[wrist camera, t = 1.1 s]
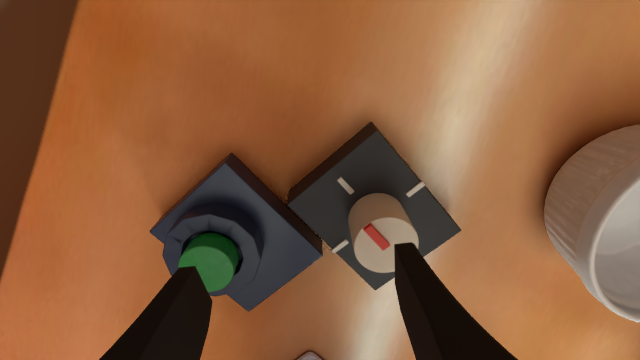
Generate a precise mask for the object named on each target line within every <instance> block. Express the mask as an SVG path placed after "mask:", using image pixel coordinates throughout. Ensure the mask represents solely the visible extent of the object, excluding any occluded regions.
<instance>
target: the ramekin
mask: <svg viewBox="0 0 640 360" xmlns="http://www.w3.org/2000/svg"><path fill="white" fill-rule="evenodd" d="M544 222H545V228H546V230H547V233H548V237H549V238H550V240H551V242H552V244H553V245H554V247H555V248H556V250H557V251H558V252H559V253H560V254H561V256H562V257H563V258H564V259H565V260H566V261H567V263H568V264H569V265H570V266H571V267H572V268H573V269H574V270H575V271H576V273H577V274H578V275H579V276H580V278H581V280H582V282H583V283H584V285H585V287H586V288H587V289H588V291H589V292H590V293H591V294H592V295H593V296H594V297H595V298H596V299H598V300H599V301H600V302H601V303H602V304H604V305H605V306H606V307H607V308H609V309H610V310H611V311H613V312H614V313H616V314H618V315H619V316H622V317H624V318H626V319H629V320H632V321H636V322H640V124H639V125H633V126H627V127H623V128H621V129H618V130H614V131H611V132H609V133H607V134H605V135H602V136H600V137H598V138H597V139H595V140H593V141H591V142H589V143H588V144H587V145H585V146H584V147H582V148H581V149H580V150H578V151H577V152H576V153H575V154H573V155H572V156H571V157H570V158H569V159H568V160H567V161H566V162H565V163H564V164H563V166H562V167H561V168H560V169H559V171H558V172H557V174H556V175H555V177H554V179H553V181H552V183H551V185H550V187H549V190H548V193H547V196H546V199H545V207H544Z"/></svg>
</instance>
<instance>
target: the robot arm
mask: <svg viewBox="0 0 640 360" xmlns="http://www.w3.org/2000/svg"><path fill="white" fill-rule="evenodd" d="M394 256H395V285H396V290H397V295H398V300H399V305H400V310H401V313H402V316H403V320H404V323H405V326H406V329H407V332H408V335H409V338H410V342H411V345H412V348H413V351H414V354H415V357H416V360H518V359H517V358H515V357H514V356H513V355H512V354H511V353H509V352H508V351H507V350H506V349H505V348H504V347H503V346H502V345H501V344H500V343H498V342H497V341H496V340H495V339H494V338H493V337H492V336H491V335H490V334H489V333H488V332H487V331H486V330H485V329H484V328H483V327H482V326H481V325H480V324H479V323H478V322H477V321H476V320H475V319H474V318H473V317H472V316H471V315H470V314H469V313H468V312H467V311H466V310H465V309H464V308H463V306H462V305H461V304H460V303H459V302H458V301H457V300H456V299H455V297H454V296H453V295H452V294H451V293H450V292H449V290H448V289H447V288H446V287H445V285H444V284H443V283H442V282H441V281H440V279H439V278H438V277H437V276H436V274H435V273H434V272H433V270H432V269H431V268H430V266H429V265H428V264H427V262H426V261H425V259H424V258H423V256H422V255H421V253H420V252H419V250H418V249H417V247H416V245H415V244H414V243H412V242H409V243H400V244H394ZM211 308H212V300H211V297H210V295H209V293H208V291H207V289H206V287H205V285H204V283H203V281H202V279H201V277H200V275H199V272H198V270H197V268H196V266H189V267H180V268H178V270H177V271H176V272H175V273H174V274H173V276H172V277H171V278H170V279H169V280H168V282H167V283H166V284H165V285H164V287H163V288H162V289H161V290H160V291H159V293H158V294H157V295H156V296H155V298H154V299H153V300H152V301H151V302H150V304H149V305H148V306H147V307H146V308H145V310H144V311H143V312H142V313H141V314H140V316H139V317H138V318H137V319H136V320H135V321H134V323H133V324H132V325H131V326H130V327H129V328H128V329H127V330H126V331H125V333H124V334H123V335H122V336H121V337H120V338H119V339H118V340H117V341H116V342H115V344H114V345H113V346H112V347H111V348H110V349H109V350H108V351H107V352H106V353H105V354H104V355H103V356H102V357H101V358H100V359H99V360H200V357H201V354H202V350H203V346H204V343H205V339H206V336H207V332H208V327H209V322H210V315H211ZM297 360H322V359H321V358H320V357H318V356H317V355H316V354H315V353H313V352H307V353H306V354H304V355H303V356H301V357H300V358H298V359H297Z"/></svg>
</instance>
